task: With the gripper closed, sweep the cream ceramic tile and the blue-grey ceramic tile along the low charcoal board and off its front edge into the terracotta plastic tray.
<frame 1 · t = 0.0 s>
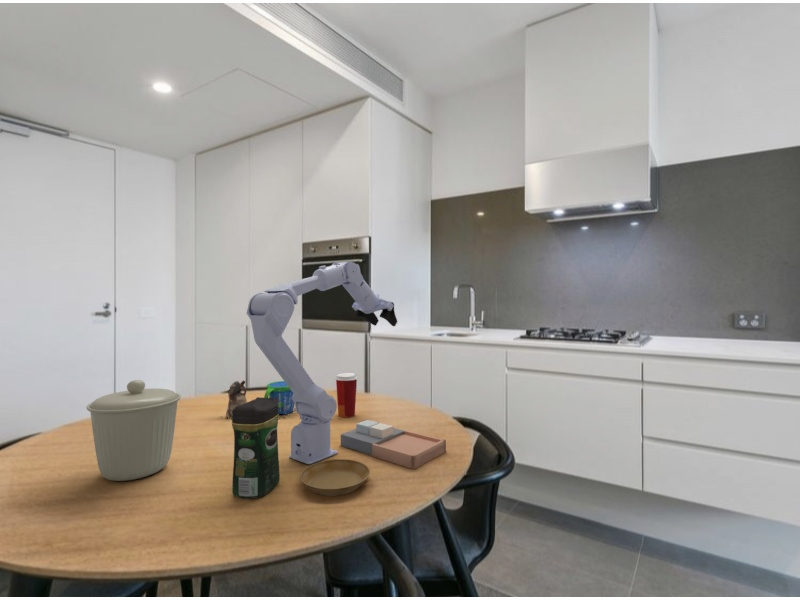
hand: (385, 323, 124), 32 cm above the table, tool tilted 50°, fingers open, 7 cm apart
terracotta tray: (409, 453, 102), on the table
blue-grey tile: (367, 431, 111), point 3 cm above the table, touching charcoal board
paper cup: (346, 415, 138), on the table
plant saucer: (335, 485, 86), on the table
snack cup: (282, 412, 142), on the table
coffee jar: (256, 490, 83), on the table
cream tile: (381, 434, 108), point 3 cm above the table, touching charcoal board
charcoal board: (373, 443, 110), on the table
canister: (136, 472, 92), on the table
figurine: (237, 416, 138), on the table
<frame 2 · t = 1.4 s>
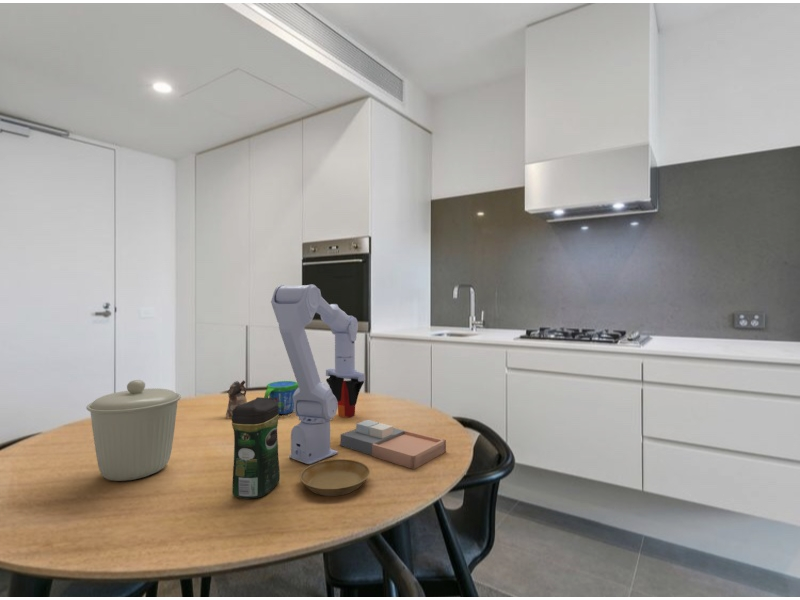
hand: (345, 403, 117), 9 cm above the table, tool pointing down, fingers open, 6 cm apart
nothing on the table moved.
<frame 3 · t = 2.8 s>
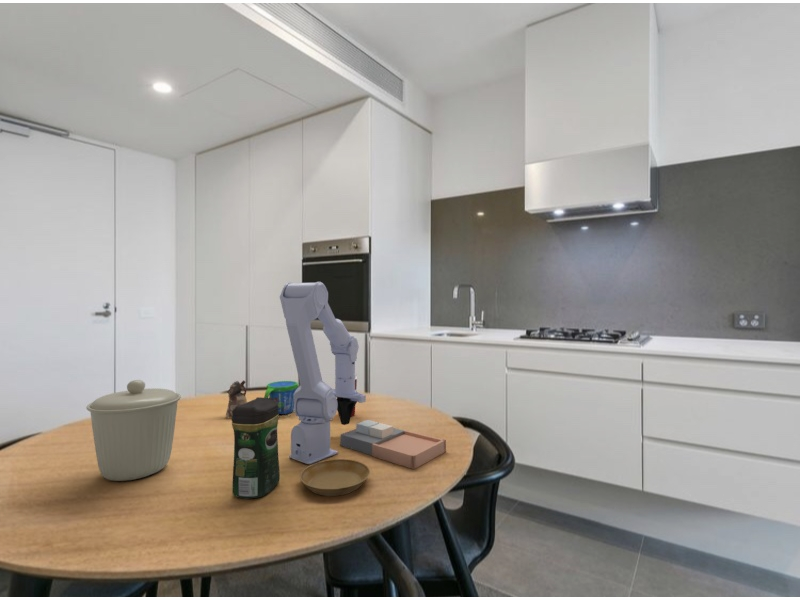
hand: (345, 423, 117), 3 cm above the table, tool pointing down, fingers closed
nothing on the table moved.
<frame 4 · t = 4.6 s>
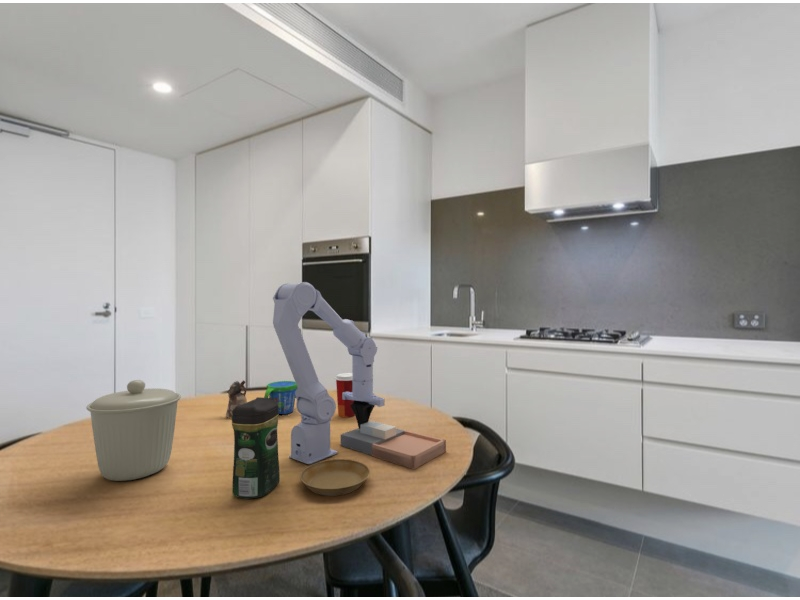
hand: (362, 428, 112), 3 cm above the table, tool pointing down, fingers closed
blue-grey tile: (371, 432, 110), point 3 cm above the table, touching cream tile, gripper
cream tile: (384, 435, 107), point 3 cm above the table, touching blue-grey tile
everything else where it was.
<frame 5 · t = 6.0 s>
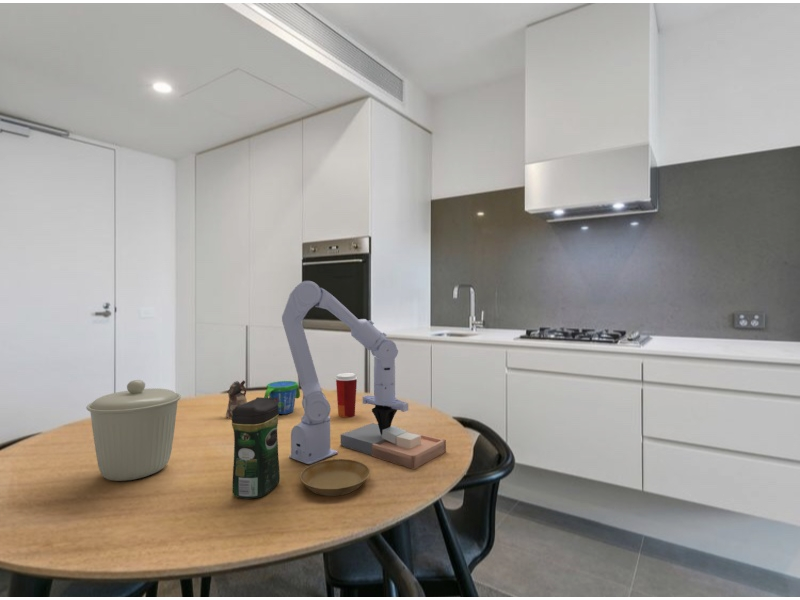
hand: (384, 434, 107), 3 cm above the table, tool pointing down, fingers closed
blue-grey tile: (393, 438, 105), point 3 cm above the table, tilted 8°, touching charcoal board, gripper
cream tile: (408, 444, 103), point 2 cm above the table, touching terracotta tray
everything else where it was.
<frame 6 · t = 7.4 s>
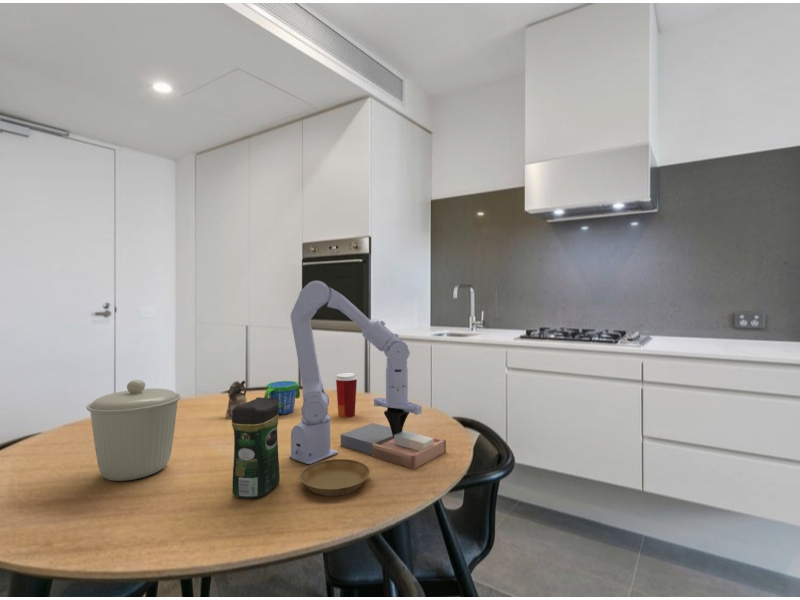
hand: (397, 437, 105), 3 cm above the table, tool pointing down, fingers closed
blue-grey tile: (406, 443, 103), point 2 cm above the table, touching cream tile, gripper
cream tile: (420, 447, 100), point 2 cm above the table, touching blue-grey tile, terracotta tray
everything else where it was.
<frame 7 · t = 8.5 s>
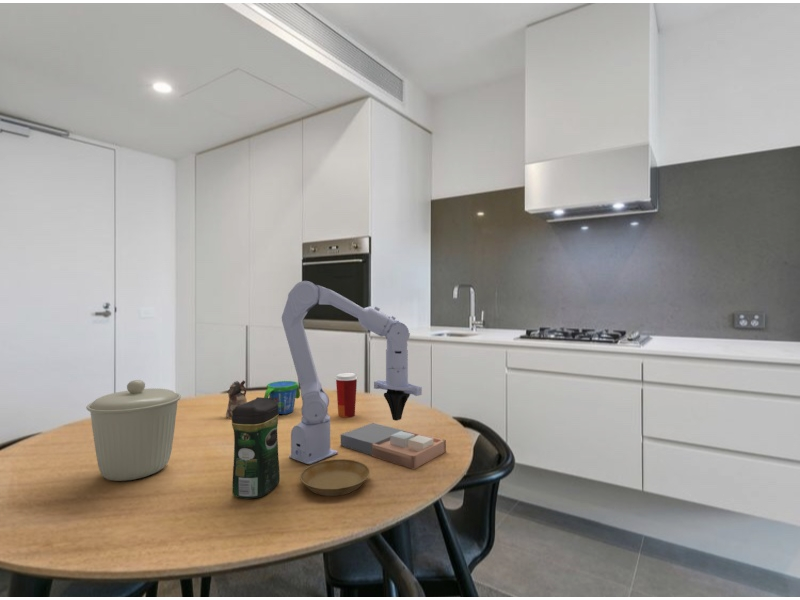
hand: (397, 419, 105), 8 cm above the table, tool pointing down, fingers closed
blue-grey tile: (402, 443, 103), point 2 cm above the table, touching terracotta tray
cream tile: (421, 447, 100), point 2 cm above the table, touching terracotta tray
everything else where it was.
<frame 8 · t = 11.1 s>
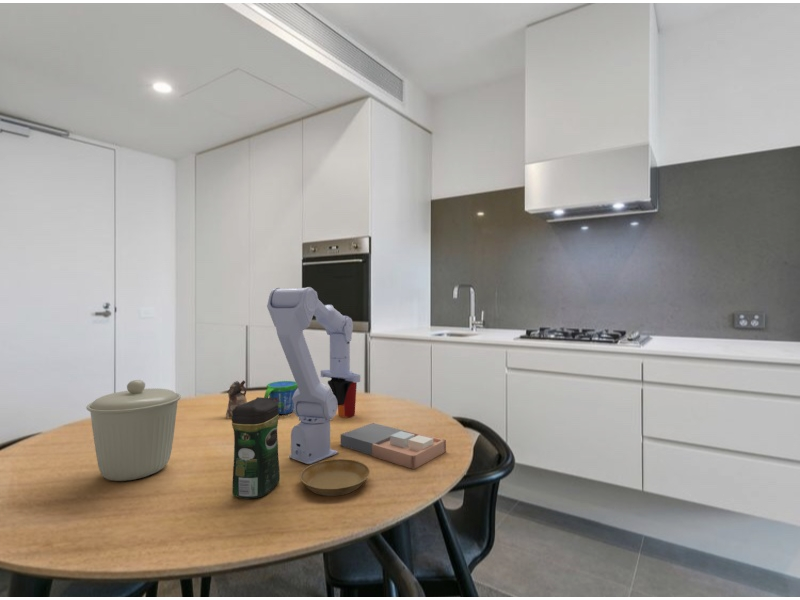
hand: (339, 404, 115), 9 cm above the table, tool pointing down, fingers closed
nothing on the table moved.
at the end: cream tile inside the target area on the terracotta tray (2.4 cm from its centre), point 2.2 cm above the terracotta tray's base; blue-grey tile inside the target area on the terracotta tray (3.2 cm from its centre), point 2.2 cm above the terracotta tray's base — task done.
